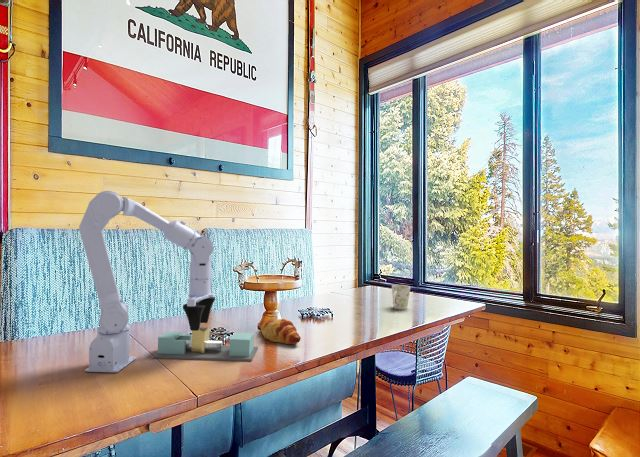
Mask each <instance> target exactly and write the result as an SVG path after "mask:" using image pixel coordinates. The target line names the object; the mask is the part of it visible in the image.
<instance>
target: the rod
mask: <svg viewBox="0 0 640 457" xmlns="http://www.w3.org/2000/svg"><path fill="white" fill-rule="evenodd" d="M210 329H211V328H210V326H206V327H200V328H199V330H198V331H191V335H192V340H186V350H192V352H201V353H205V352H206V351H222V348H223V346H224V342H223V340H211V339H210V335H211V334H210V333H211V332H210ZM175 340H182V339H175Z"/></svg>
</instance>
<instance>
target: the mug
mask: <svg viewBox="0 0 640 457" xmlns="http://www.w3.org/2000/svg"><path fill="white" fill-rule="evenodd" d="M410 292H411V286H410V285H407V284H392V285H391V295H392V305H393V308H394V309H395V310H402V311H403V310H408V304H409V298H410Z"/></svg>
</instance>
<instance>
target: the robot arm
mask: <svg viewBox="0 0 640 457" xmlns="http://www.w3.org/2000/svg"><path fill="white" fill-rule="evenodd" d="M121 212H122V216H125V217H135V218H137V219H139V220H140V221H143V222H144V223H146V224H149V226H150V225H151V226H152V227H154V228H157V229H158V230H160V231H162V232H163V237H164V239H165V240H168V241H170V242H171V243H172V244H175V246H176V245H177V247H180V248H182V249H184V250H188V251H189V252H190V262H189V287H188V288H189V292H188V298H187V299H186V301H187V302H186V303H185V304H182V310H183V311H184V312H185V313H184V314H186V317H187V320H188V325H189V329H190V331H191V332H192V331H198V330H199V328H201V324H208V323H209V322H208V321H209V319H210V313H211V311H212V310H211V309H212V307H213V304H214V302H215V301H216V297H215V296H216V294H215V293H212V289H211V288H212V286H211V285H212V284H211V283H212V253H213V252H214V249H215V246H214V244H213V242H212V240H211V239H210V238H209V237H207V236H204V235H202V232H201V231H200V230H194V229H192V228H191V227H189V226H188V225H186V222H185V221H183V220H181V221H179V220H177V219H176V220H171V221H169V220H167V219H165V218H164V217H162V216H161V215H159V214H157V213H156V212H154V211H152V210H151V209H149V208H148V207H146V206H144V205H143V204H141V203H139V202H138V201H135V200H133V199H132V198H128V197H126V196H124V195H122V196H120V194H118V193H116V192H115V191H112V190H103V191H100V192H98V194H96V195H95V196H94V197H93V198H92V199H91V200H90V201H89V202H88V204H87V207H86V209H85V212H84V215H83V216H82V219H81V221H80V223H79V226H78V229H79V230H78V231H79V234H80V237H81V241H82V244H83V247H84V252H85V255H86V258H87V261H88V266H89V269H90V272H91V276H92V280H93V284H94V287H95V290H96V294H97V298H98V303H99V309H100V317H99V321H98V322H99V325H100V326H99V327H98V328H97V335H96V337H95V338H94V339H93V340H92V341H91V342H90V344H89V346H88V347H89V350H88V367H87V368H85V369H84V371H85V372H87V373H89V372H90V373H91V372H93V373H94V372H95V373H119V372H120V371H122V370H123V369H125V367H127V366H128V365H130V364H131V363H132V362H134V361H135V360H137V356H130V348H131V347H130V346H131V344H130V342H131V325H129V320H130V319H129V307H128V306H127V303H125V301H123V300H122V297H121V294H120V292H119V288H118V285H117V280H116V276H115V273H114V271H113V266H112V263H111V259H110V256H109V253H108V248H107V245H106V240H105V238H104V237H105V236H104V235H103V230H104V229H105V227H106V226H107V225H108V224H109V222H110V221H111V220H112V219H113V218H115V217H116V216H118V215H119V214H120V213H121Z"/></svg>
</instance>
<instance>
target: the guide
mask: <svg viewBox="0 0 640 457" xmlns="http://www.w3.org/2000/svg"><path fill="white" fill-rule="evenodd" d="M182 333H183V332H182V331H174V330H172V331H170V330H167V331H165V332H163V333H162V334H161V335H159V336H158V337H157V352H156V354H154V355H153V359H167V360H169V359H171V360H195V361H196V360H197V361H202V360H203V361H205V360H206V361H225V362H226V361H227V362H228V361H230V362H231V361H232V362H233V361H234V362H235V361H236V362H252V361H253V360H254V357H255V356H256V353H257V351H258V349H259V347H258V346H255V344H254V343H255V342H254V338H255V333H254V332H234V333H233V334H232V336H231V337H230V338H229V345H223V348H222V351H206V352H205V353H201V352H192V350H186V340H192V334H185V333H184V334H182ZM175 339H182V340H175Z"/></svg>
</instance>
